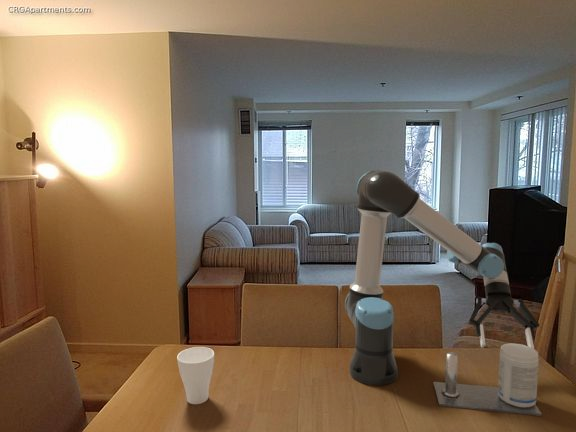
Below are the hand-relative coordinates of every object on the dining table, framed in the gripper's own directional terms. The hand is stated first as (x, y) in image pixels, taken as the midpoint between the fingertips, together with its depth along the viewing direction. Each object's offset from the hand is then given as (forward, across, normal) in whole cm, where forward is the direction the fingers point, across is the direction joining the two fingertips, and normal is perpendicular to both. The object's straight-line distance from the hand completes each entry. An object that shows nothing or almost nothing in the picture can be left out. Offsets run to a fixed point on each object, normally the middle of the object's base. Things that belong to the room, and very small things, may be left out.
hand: (507, 348), depth 129 cm
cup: (+27, +90, +11) cm, 94 cm away
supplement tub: (+15, 0, +1) cm, 15 cm away
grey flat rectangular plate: (+16, +9, +1) cm, 18 cm away
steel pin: (+16, +18, +1) cm, 24 cm away
